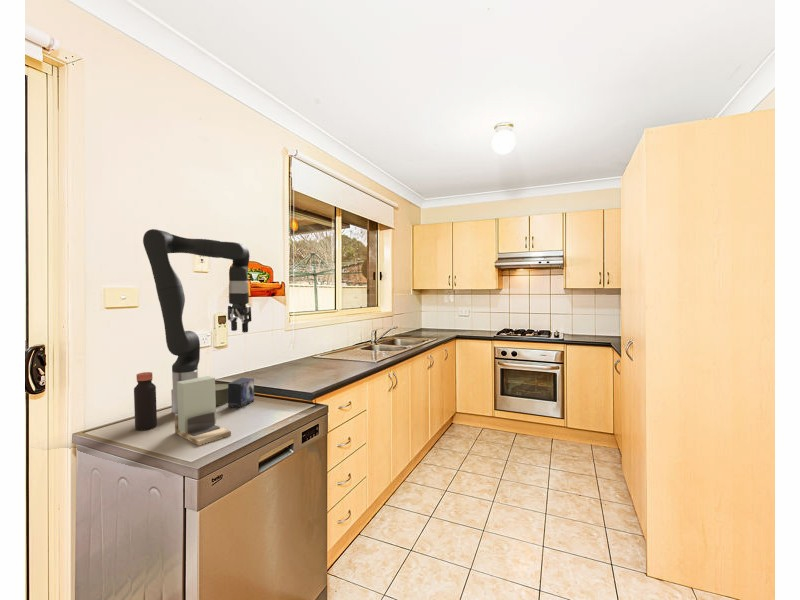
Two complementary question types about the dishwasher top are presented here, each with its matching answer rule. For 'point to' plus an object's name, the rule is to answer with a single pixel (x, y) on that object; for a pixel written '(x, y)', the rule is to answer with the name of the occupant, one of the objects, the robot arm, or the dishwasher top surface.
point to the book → (195, 399)
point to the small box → (240, 392)
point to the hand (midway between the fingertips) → (239, 331)
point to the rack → (202, 429)
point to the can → (221, 393)
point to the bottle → (145, 402)
